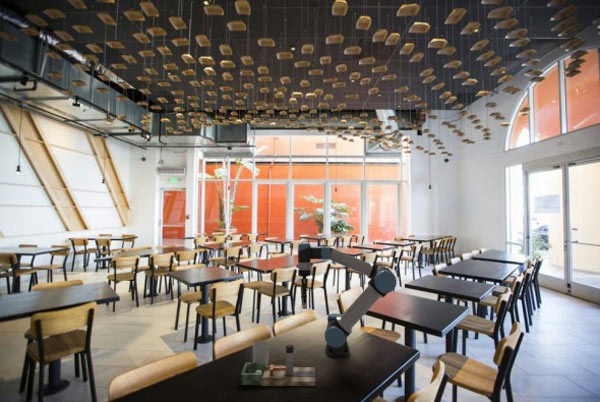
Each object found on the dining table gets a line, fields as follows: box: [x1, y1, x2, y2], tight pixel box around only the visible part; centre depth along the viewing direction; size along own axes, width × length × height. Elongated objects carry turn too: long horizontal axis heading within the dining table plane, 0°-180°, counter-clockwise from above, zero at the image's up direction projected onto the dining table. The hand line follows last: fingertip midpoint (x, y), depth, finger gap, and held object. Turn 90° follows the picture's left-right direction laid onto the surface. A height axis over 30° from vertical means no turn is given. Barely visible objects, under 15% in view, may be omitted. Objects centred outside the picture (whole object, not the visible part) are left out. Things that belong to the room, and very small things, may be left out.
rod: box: [270, 344, 295, 376], centre depth 152 cm, size 12×5×14 cm, turn 89°
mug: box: [252, 341, 270, 365], centre depth 168 cm, size 12×9×11 cm
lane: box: [240, 361, 317, 387], centre depth 152 cm, size 38×14×5 cm, turn 89°
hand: (304, 305), depth 172 cm, fingers open, 13 cm apart
